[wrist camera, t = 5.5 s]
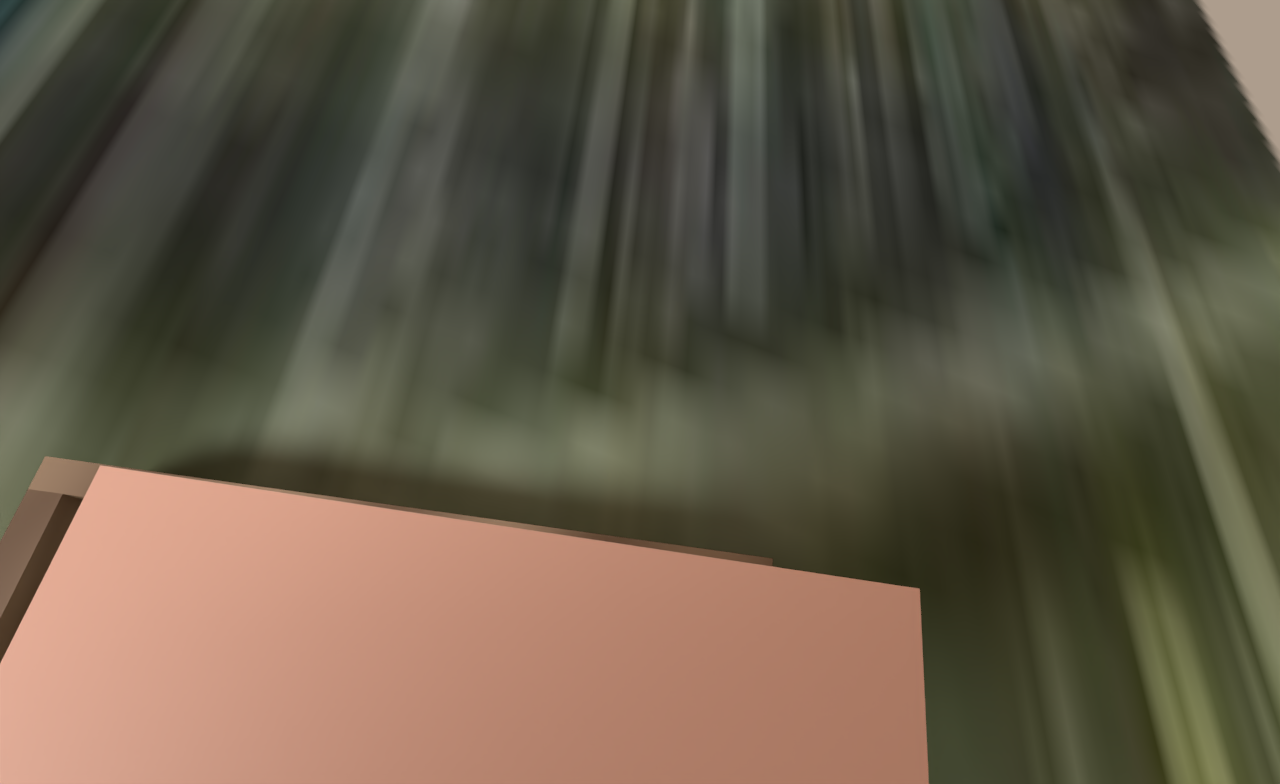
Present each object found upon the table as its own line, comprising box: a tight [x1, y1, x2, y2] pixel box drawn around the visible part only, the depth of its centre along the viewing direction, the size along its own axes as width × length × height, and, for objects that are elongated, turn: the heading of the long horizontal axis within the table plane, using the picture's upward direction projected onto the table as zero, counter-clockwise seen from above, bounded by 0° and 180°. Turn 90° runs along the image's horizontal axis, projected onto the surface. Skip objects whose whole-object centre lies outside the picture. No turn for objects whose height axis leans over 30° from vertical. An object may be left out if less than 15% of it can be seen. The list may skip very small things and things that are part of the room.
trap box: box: [0, 456, 773, 663], centre depth 18 cm, size 22×10×4 cm, turn 83°
